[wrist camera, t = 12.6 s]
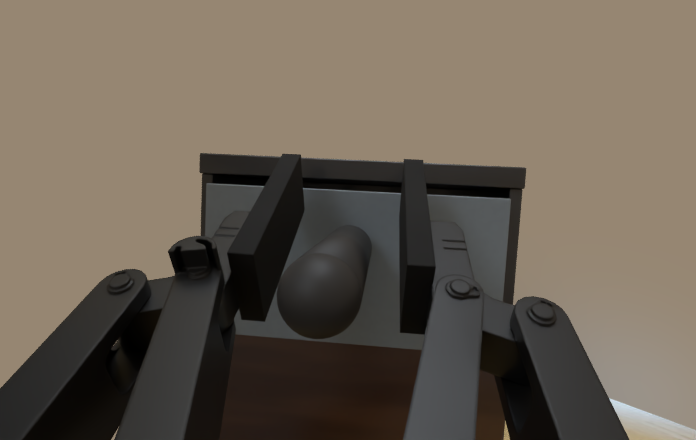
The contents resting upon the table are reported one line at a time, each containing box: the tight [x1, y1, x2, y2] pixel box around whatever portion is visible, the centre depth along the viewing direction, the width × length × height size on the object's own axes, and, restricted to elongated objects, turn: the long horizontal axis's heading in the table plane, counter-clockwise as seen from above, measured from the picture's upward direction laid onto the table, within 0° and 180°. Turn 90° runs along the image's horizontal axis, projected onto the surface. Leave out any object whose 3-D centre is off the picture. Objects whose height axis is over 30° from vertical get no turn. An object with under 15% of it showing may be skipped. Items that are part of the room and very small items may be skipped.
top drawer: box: [205, 183, 511, 350], centre depth 18 cm, size 20×14×7 cm
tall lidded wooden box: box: [200, 153, 526, 440], centre depth 26 cm, size 10×16×33 cm, turn 85°
